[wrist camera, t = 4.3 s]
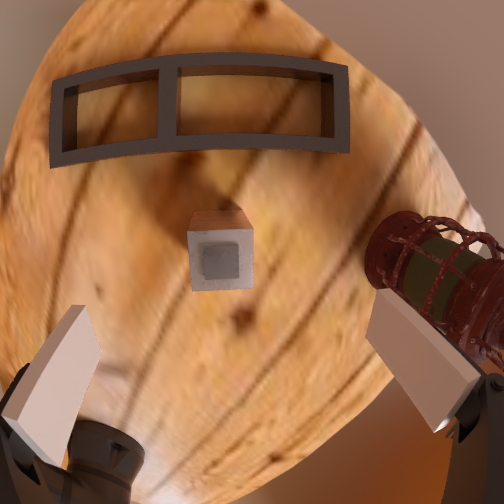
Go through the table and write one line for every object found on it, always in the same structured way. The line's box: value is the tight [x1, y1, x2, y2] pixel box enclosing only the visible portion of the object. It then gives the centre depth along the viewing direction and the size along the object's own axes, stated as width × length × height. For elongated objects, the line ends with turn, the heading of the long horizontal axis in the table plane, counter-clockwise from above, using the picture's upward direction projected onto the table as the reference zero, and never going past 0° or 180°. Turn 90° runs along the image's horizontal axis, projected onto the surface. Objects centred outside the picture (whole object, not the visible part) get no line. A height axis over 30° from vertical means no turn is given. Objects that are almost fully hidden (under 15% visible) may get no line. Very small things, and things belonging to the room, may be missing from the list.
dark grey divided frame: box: [49, 52, 350, 169], centre depth 20 cm, size 26×8×3 cm, turn 90°
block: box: [187, 209, 253, 291], centre depth 22 cm, size 4×4×7 cm
